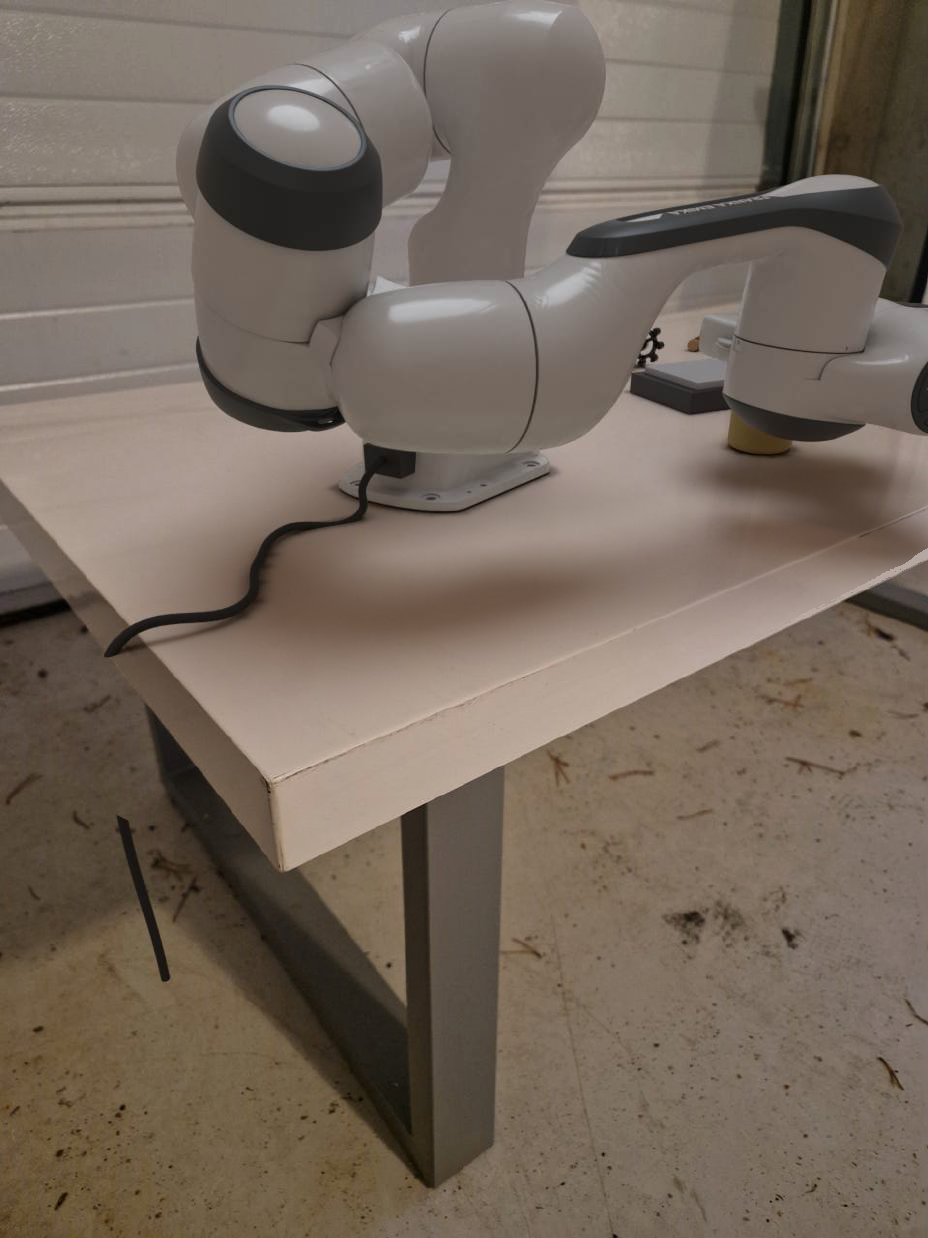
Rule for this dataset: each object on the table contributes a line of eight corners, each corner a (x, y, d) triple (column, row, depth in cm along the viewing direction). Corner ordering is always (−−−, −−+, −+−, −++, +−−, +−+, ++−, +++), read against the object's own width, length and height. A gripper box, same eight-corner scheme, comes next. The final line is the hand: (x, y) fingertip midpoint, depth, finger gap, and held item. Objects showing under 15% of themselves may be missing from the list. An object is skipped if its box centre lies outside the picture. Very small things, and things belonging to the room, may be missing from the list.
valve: (625, 382, 118) (662, 367, 127) (628, 334, 115) (667, 322, 123) (584, 376, 122) (623, 362, 130) (587, 329, 119) (627, 318, 127)
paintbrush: (742, 315, 150) (703, 338, 135) (740, 331, 151) (701, 355, 137) (721, 313, 151) (681, 335, 137) (719, 329, 153) (679, 352, 139)
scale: (689, 414, 103) (692, 385, 101) (629, 391, 113) (631, 365, 112) (770, 402, 108) (775, 375, 106) (706, 382, 118) (709, 356, 116)
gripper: (725, 387, 74) (673, 356, 86) (940, 378, 76) (860, 349, 88) (735, 312, 71) (680, 291, 83) (960, 305, 73) (874, 286, 85)
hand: (775, 321), depth 85 cm, fingers open, 8 cm apart
